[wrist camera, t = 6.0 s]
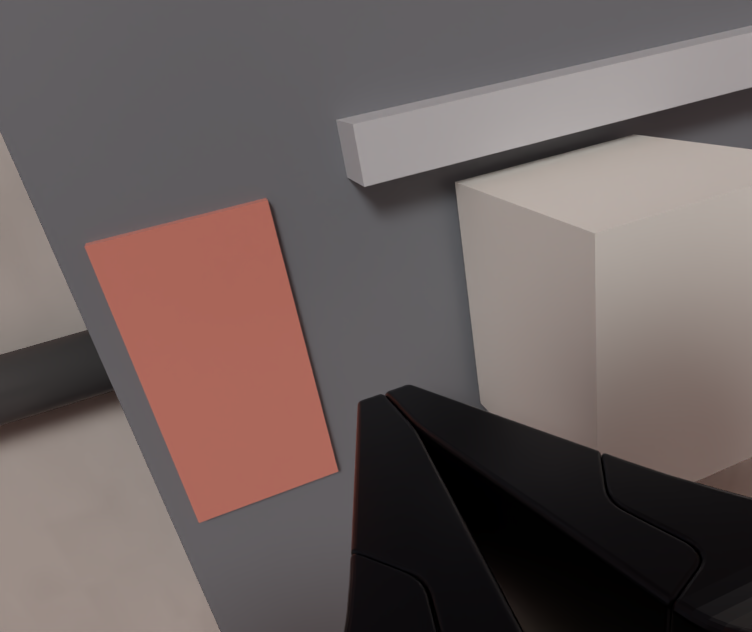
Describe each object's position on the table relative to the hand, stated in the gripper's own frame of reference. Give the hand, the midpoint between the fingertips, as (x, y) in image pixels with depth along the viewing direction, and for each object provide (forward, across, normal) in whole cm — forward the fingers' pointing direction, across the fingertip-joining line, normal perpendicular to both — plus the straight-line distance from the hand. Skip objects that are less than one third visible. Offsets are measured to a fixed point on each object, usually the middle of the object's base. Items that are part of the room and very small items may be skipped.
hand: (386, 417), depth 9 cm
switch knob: (+3, -5, 0) cm, 6 cm away
